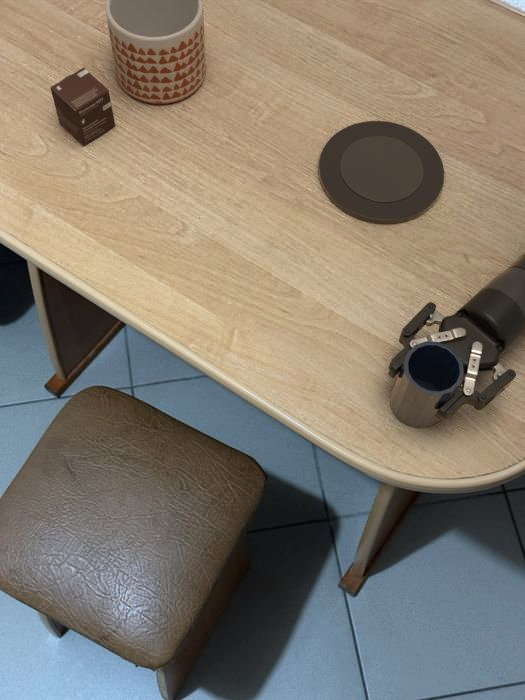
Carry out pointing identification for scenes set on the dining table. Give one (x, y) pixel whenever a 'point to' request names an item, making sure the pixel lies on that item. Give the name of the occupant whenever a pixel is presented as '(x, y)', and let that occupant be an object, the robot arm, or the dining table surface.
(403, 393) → the cup
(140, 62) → the planter
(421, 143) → the plate
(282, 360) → the dining table surface
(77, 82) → the box
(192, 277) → the dining table surface
